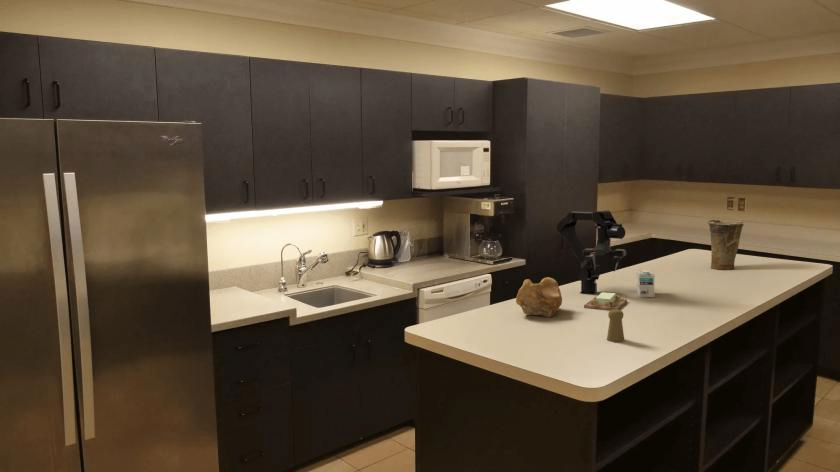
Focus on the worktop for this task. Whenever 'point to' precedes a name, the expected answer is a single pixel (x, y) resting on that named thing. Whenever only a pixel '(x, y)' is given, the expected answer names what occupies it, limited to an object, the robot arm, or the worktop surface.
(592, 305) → the walnut plate
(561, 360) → the worktop surface
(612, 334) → the olive tapered pillar
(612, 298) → the pale green board
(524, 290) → the rough brown rock
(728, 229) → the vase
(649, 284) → the light bulb box
